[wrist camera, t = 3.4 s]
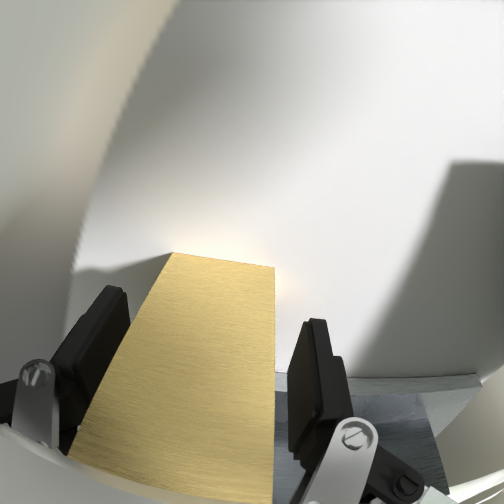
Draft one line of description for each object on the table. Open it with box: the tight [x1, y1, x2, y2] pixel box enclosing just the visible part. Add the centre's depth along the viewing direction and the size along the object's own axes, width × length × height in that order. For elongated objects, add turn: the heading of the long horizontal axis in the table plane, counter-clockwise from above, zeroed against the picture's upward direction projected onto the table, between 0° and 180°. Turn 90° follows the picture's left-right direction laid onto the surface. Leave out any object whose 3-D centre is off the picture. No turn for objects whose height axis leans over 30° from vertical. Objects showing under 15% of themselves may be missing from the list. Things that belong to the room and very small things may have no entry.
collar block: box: [272, 372, 483, 504], centre depth 16 cm, size 20×20×7 cm
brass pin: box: [67, 253, 275, 504], centre depth 8 cm, size 4×4×10 cm
